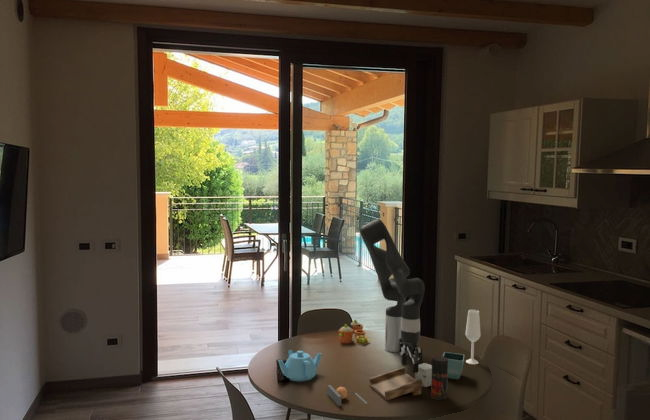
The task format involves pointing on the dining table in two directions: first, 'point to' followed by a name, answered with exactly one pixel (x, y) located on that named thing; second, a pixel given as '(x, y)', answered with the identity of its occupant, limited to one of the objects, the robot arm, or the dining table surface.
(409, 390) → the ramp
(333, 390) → the rail
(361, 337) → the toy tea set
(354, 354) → the dining table surface
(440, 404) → the dining table surface
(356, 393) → the grey thin rod
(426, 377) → the skincare box
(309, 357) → the teapot
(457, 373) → the flower pot
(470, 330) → the champagne flute
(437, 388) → the deodorant
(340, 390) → the ball
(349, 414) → the dining table surface
